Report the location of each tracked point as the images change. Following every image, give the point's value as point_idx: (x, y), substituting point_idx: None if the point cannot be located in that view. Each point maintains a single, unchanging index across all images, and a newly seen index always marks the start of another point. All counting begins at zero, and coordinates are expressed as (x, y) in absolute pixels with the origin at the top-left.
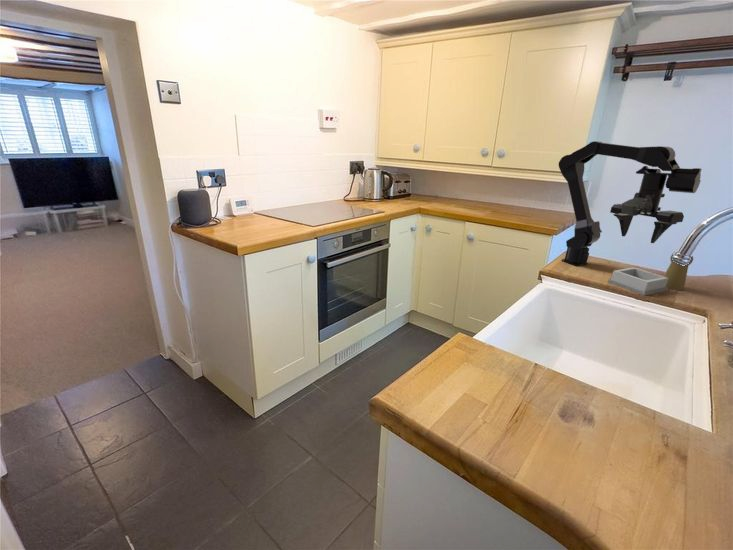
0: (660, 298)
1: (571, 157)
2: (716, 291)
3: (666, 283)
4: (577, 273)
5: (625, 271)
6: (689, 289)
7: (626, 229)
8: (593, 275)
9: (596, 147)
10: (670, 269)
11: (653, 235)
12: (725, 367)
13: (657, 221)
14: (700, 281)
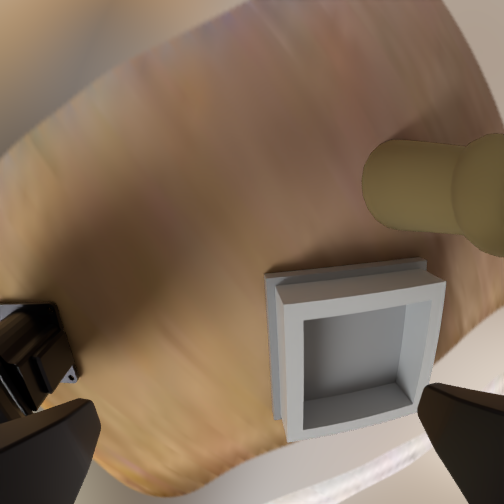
0: (436, 352)
1: None
2: (462, 65)
3: (430, 274)
4: (162, 437)
5: (302, 388)
6: (436, 139)
7: (56, 458)
8: (193, 405)
9: None
10: (443, 231)
11: (462, 473)
12: None
13: None
14: None
